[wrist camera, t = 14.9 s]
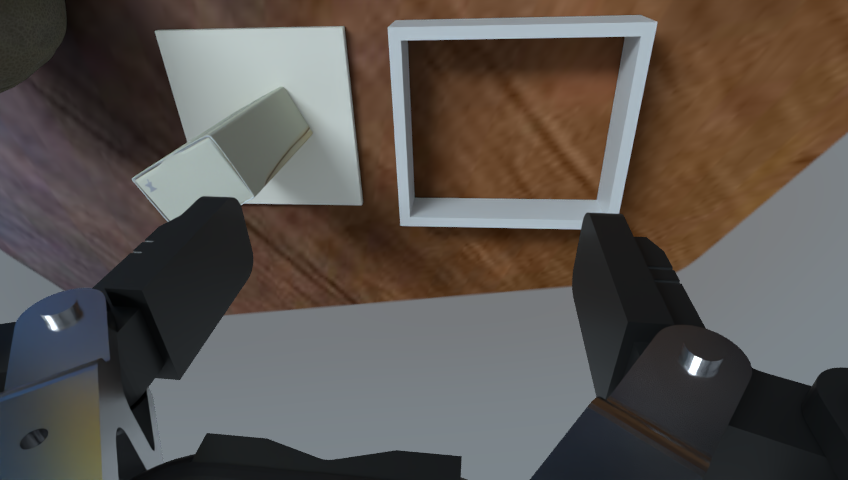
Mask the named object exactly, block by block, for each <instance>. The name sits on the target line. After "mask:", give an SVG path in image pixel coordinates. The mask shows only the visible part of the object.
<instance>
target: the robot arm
mask: <svg viewBox="0 0 848 480" xmlns="http://www.w3.org/2000/svg"><path fill="white" fill-rule="evenodd" d="M133 251H134V252H133V253H130V254H129V255H128V256H127V257H126V258H125V259H124V260H122V261H121V262H120V263H119V264H118V265H117V266H116V267H115V268H114V269H113V270H112V271H111V272H109V273H108V274H107V275H106V276H105V277H104V278H103V279H102V280H101V281H100V282H99V283H97V284H96V285H95V286H94V287H93V288H76V289H70V290H66V291H62V292H59V293H56V294H53V295H51V296H48V297H46V298H44V299H42V300H40V301H39V302H37V303H35V304H34V305H32V306H31V307H29V308H28V309H27V310H26V311H25V312H23V313H22V314H21V316H20V317H19V318H18V320H17V321H16V322H12V323H5V324H0V480H467V479H464V478H461V477H460V476H461V456H452V455H440V454H430V453H419V452H408V451H397V450H396V451H389V452H383V453H376V454H369V455H362V456H356V457H349V458H343V459H335V460H323V459H320V458H317V457H314V456H312V455H309V454H306V453H303V452H301V451H298V450H296V449H293V448H290V447H288V446H285V445H282V444H280V443H277V442H274V441H272V440H269V439H265V438H254V437H243V436H232V435H221V434H210V433H207V434H206V436H205V438H204V439H203V441H202V443H201V445H200V447H199V448H198V450H197V452H196V454H194V455H189V456H185V457H181V458H178V459H174V460H171V461H169V462H166V463H164V462H163V457H162V450H161V443H160V437H159V431H158V425H157V418H156V413H155V406H154V399H153V396H152V393H151V391H150V389H149V385H150V384H151V383H152V381H153V380H154V379H155V378H164V379H175V380H180V379H181V377H182V376H183V374H184V373H185V371H186V370H187V369H188V367H189V366H190V364H191V363H192V361H193V359H194V358H195V357H196V355H197V354H198V352H199V351H200V349H201V347H202V346H203V345H204V343H205V342H206V340H207V339H208V337H209V336H210V334H211V333H212V331H213V330H214V329H215V327H216V325H217V324H218V323H219V321H220V320H221V318H222V317H223V315H224V314H225V312H226V311H227V309H228V308H229V306H230V305H231V303H232V302H233V300H234V299H235V297H236V296H237V294H238V293H239V291H240V290H241V289H242V287H243V286H244V284H245V283H246V281H247V280H248V278H249V276H250V274H251V271H252V267H253V252H252V248H251V244H250V240H249V236H248V232H247V228H246V224H245V220H244V216H243V212H242V208H241V205H240V203H239V201H238V200H237V199H236V198H234V197H213V196H202V197H200V198H199V199H197V200H196V201H195V202H194V203H193V204H192V205H191V206H190V207H189V208H188V209H187V210H186V211H185V212H184V213H183V214H182V215H180V216H178V217H176V218H174V219H172V220H171V221H169V222H167V223H165V224H163V225H161V226H159V227H158V228H157V229H156V230H155V231H154V232H153V233H152V234H151V235H150V236H149V237H147V238H146V239H145V242H142V243H141V244H140V245H139V246H138V247H137V248H135V249H134V250H133ZM679 281H680V280H679V279H678V276H677V275H676V273H675V271H674V270H672V265H671V264H670V262H669V260H668V258H667V256H666V254H665V252H664V251H663V250H662V249H660V248H659V247H658V246H657V245H655V244H654V243H653V242H652V241H650V240H649V239H648V238H647V237H633V235H632V232H631V230H630V228H629V226H628V224H627V222H626V220H625V218H624V216H623V215H622V214H613V213H589V212H587V213H586V214H585V216H584V218H583V222H582V227H581V233H580V238H579V243H578V248H577V253H576V259H575V264H574V269H573V278H572V290H573V298H574V302H575V306H576V311H577V315H578V319H579V323H580V328H581V332H582V336H583V341H584V345H585V349H586V353H587V358H588V362H589V366H590V371H591V375H592V379H593V383H594V388H595V392H596V398H595V399H594V400H593V401H592V402H591V403H590V404H589V405H588V407H587V408H586V409H585V410H584V412H583V413H582V414H581V415H580V417H579V418H578V419H577V420H576V422H575V423H574V424H573V426H572V427H571V428H570V429H569V431H568V432H567V433H566V435H565V436H564V437H563V438H562V440H561V441H560V442H559V443H558V445H557V446H556V447H555V448H554V450H553V451H552V452H551V453H550V455H549V456H548V457H547V459H546V460H545V461H544V462H543V464H542V465H541V466H540V467H539V469H538V470H537V471H536V472H535V474H534V475H533V476H532V477H531V479H530V480H848V368H832V369H828V370H826V371H824V372H822V373H821V374H820V375H819V376H818V377H817V379H816V381H815V382H814V384H813V386H809V385H805V384H802V383H798V382H795V381H791V380H788V379H784V378H781V377H777V376H774V375H770V374H767V373H764V372H761V371H758V370H756V369H753V368H752V367H751V363H750V361H749V359H748V358H747V356H746V355H745V354H744V352H743V351H742V350H741V349H740V348H739V347H738V346H737V345H735V344H734V343H733V342H732V341H730V340H729V339H727V338H725V337H724V336H722V335H720V334H718V333H716V332H713V331H711V330H708V329H706V328H705V326H704V324H703V323H702V321H701V319H700V317H699V315H698V313H697V311H696V310H695V308H694V306H693V304H692V302H691V300H690V299H689V297H688V295H687V293H686V291H685V289H684V288H683V286H682V284H680V283H679Z"/></svg>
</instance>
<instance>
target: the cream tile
mask: <svg viewBox="0 0 848 480" xmlns="http://www.w3.org/2000/svg"><path fill="white" fill-rule="evenodd" d="M155 35H156V38H157V41H158V45H159V48H160V52H161V55H162V58H163V62H164V65H165V69H166V72H167V75H168V79H169V82H170V85H171V89H172V92H173V96H174V99H175V102H176V106H177V109H178V113H179V116H180V119H181V123H182V126H183V130H184V133H185V136H186V140H187V142H189V141H190V140H192V139H194V138H195V137H197V136H198V135H200V134H201V133H203V132H204V131H206V130H208V129H209V128H211V127H212V126H214V125H215V124H217V123H219V122H220V121H222V120H223V119H225V118H226V117H228V116H229V115H231V114H233V113H234V112H236V111H238V110H239V109H241V108H243V107H244V106H246V105H248V104H250V103H251V102H253V101H255V100H257V99H258V98H260V97H262V96H264V95H266V94H268V93H269V92H271V91H273V90H275V89H277V88H279V87H284V88H285V89H286V91H287V92H288V94H289V95H290V97H291V98H292V100H293V102H294V103H295V105H296V106H297V108H298V110H299V111H300V113H301V114H302V116H303V117H304V119H305V121H306V122H307V124H308V126H309V127H310V129H311V130H312V132H313V134H312V135H311V137H310V138H309V139H308V140H307V141H306V142H305V143H304V144H303V145H302V147H301V148H300V149H299V150H298V151H297V152H296V153H295V154H294V155H293V156H292V158H291V159H290V160H289V161H288V162H287V163H286V164H285V165H284V166H283V167H282V168H281V169H280V170H279V172H278V173H277V174H276V175H275V176H274V177H273V178H272V179H271V180H270V181H269V182H268V183H267V184H266V186H265V187H264V188H263V189H262V190H261V191H260V192H259V193H258V194H257V195H256V196H255V198H253V199H251V200H250V201H248V202H246V203H244V204H310V205H362V204H363V196H362V187H361V177H360V168H359V159H358V149H357V140H356V130H355V121H354V111H353V102H352V93H351V83H350V74H349V64H348V55H347V46H346V36H345V27H344V26H321V27H272V28H223V29H175V30H156V31H155Z"/></svg>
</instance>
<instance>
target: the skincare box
mask: <svg viewBox="0 0 848 480" xmlns="http://www.w3.org/2000/svg"><path fill="white" fill-rule="evenodd" d="M312 134H313V132H312V130H311V129H310V127H309V126H308V124H307V122H306V121H305V119H304V117H303V116H302V114H301V113H300V111H299V110H298V108H297V106H296V105H295V103H294V102H293V100H292V98H291V97H290V95H289V94H288V92H287V91H286V89H285V88H284V87H279V88H277V89H275V90H273V91H271V92H269V93H268V94H266V95H264V96H262V97H260V98H258V99H257V100H255V101H253V102H251V103H250V104H248V105H246V106H244V107H243V108H241V109H239V110H238V111H236V112H234V113H233V114H231V115H229V116H228V117H226V118H225V119H223V120H222V121H220V122H219V123H217V124H215V125H214V126H212V127H211V128H209V129H208V130H206V131H204V132H203V133H201V134H200V135H198V136H197V137H195V138H194V139H192V140H190V141H189V142H187V143H186V144H184V145H183V146H181V147H180V148H178V149H176V150H175V151H173V152H172V153H170V154H169V155H167V156H166V157H164V158H162V159H161V160H159V161H158V162H156V163H155V164H153V165H152V166H150V167H148V168H147V169H145V170H144V171H142V172H141V173H139V174H138V175H136V176H135V177H133V178H132V181H133V182H134V183H135V184H136V185H137V186H138V188H139V189H140V190H141V191H142V192H143V194H144V195H145V196H146V197H147V198H148V199H149V201H150V202H151V203H152V204H153V205H154V206H155V208H156V209H157V210H158V211H159V212H160V213H161V215H162V216H163V217H164V218H165V219H166V220H167V221H168V222H169V221H171V220H172V219H174V218H176V217H178V216H180V215H182V214H183V213H184V212H185V211H186V210H187V209H188V208H189V207H190V206H191V205H192V204H193V203H194V202H195V201H196V200H197V199H199V198H200V197H202V196H213V197H234V198H236V199H237V200H238V201H239V203H240V205H243V204H244V203H246V202H248V201H250V200H251V199H253V198H255V196H256V195H257V194H258V193H259V192H260V191H261V190H262V189H263V188H264V187H265V186H266V184H267V183H268V182H269V181H270V180H271V179H272V178H273V177H274V176H275V175H276V174H277V173H278V172H279V170H280V169H281V168H282V167H283V166H284V165H285V164H286V163H287V162H288V161H289V160H290V159H291V158H292V156H293V155H294V154H295V153H296V152H297V151H298V150H299V149H300V148H301V147H302V145H303V144H304V143H305V142H306V141H307V140H308V139H309V138H310V137H311V135H312Z"/></svg>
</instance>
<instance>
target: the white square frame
mask: <svg viewBox="0 0 848 480" xmlns="http://www.w3.org/2000/svg"><path fill="white" fill-rule="evenodd" d="M656 27H657V22H656V21H654V20H651V19H649V18H647V17H644V16H642V15H620V16H573V17H527V18H480V19H434V20H395V21H394V22H393V23H392V24H391V25H390V26H389V27H388V39H389V54H390V70H391V86H392V101H393V117H394V133H395V148H396V164H397V180H398V196H399V211H400V226H431V227H484V228H536V229H581V227H582V222H583V218H584V216H585V214H586V213H587V212H589V213H613V214H619V211H620V206H621V201H622V196H623V191H624V186H625V181H626V176H627V171H628V166H629V161H630V156H631V151H632V146H633V141H634V136H635V131H636V126H637V121H638V116H639V111H640V107H641V102H642V97H643V92H644V87H645V82H646V77H647V72H648V67H649V62H650V57H651V52H652V47H653V42H654V37H655V32H656ZM575 37H625V38H624V44H623V50H622V56H621V62H620V68H619V73H618V79H617V85H616V91H615V97H614V103H613V108H612V114H611V120H610V126H609V132H608V138H607V143H606V149H605V155H604V161H603V167H602V173H601V178H600V184H599V190H598V196H597V200H558V199H484V198H415V192H414V169H413V147H412V124H411V102H410V80H409V57H408V40H461V39H518V38H575Z"/></svg>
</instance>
